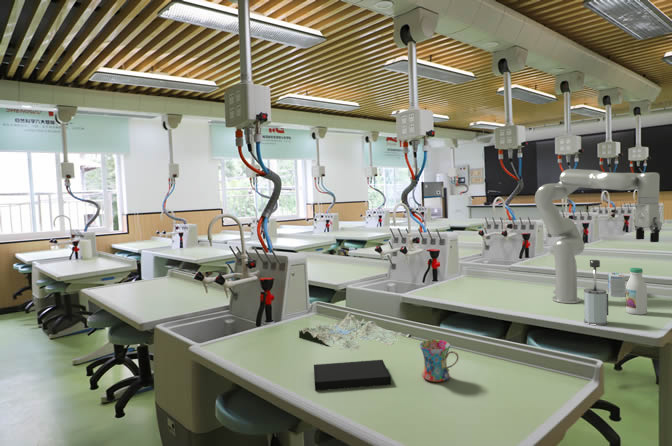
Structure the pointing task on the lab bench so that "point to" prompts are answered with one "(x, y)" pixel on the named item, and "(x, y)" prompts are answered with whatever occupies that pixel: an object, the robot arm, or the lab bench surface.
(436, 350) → the mug
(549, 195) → the robot arm
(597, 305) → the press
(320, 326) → the topographic map model
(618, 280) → the light bulb box
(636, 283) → the milk bottle
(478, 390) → the lab bench surface
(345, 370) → the external hard drive
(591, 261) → the plunger
